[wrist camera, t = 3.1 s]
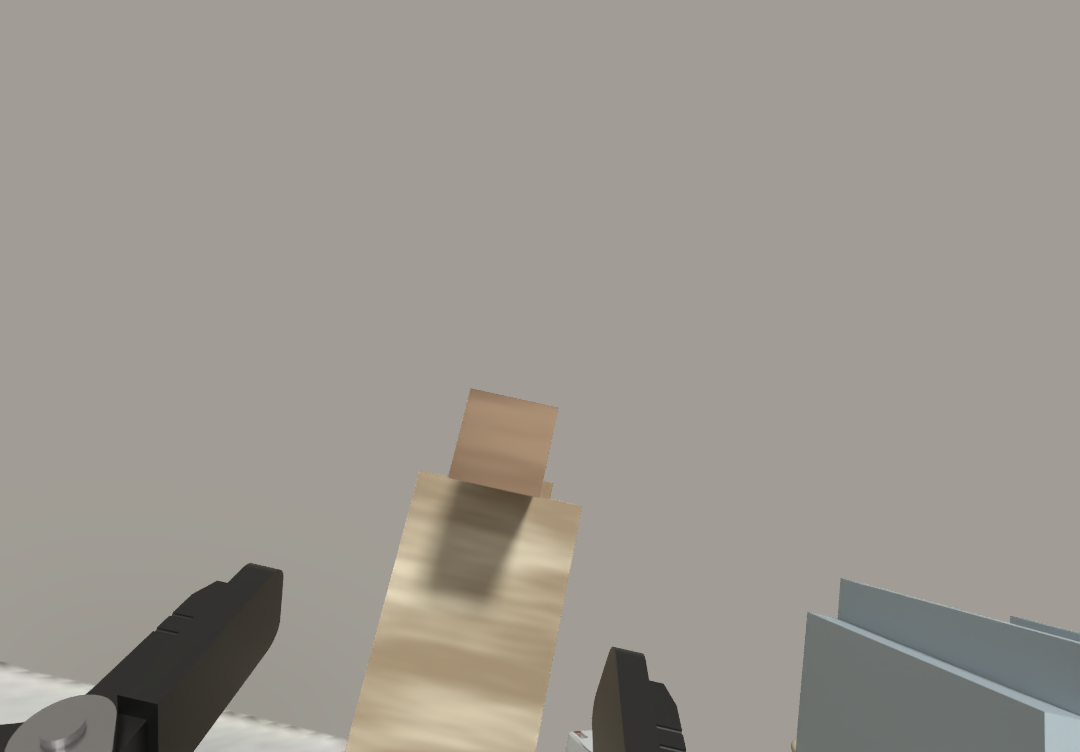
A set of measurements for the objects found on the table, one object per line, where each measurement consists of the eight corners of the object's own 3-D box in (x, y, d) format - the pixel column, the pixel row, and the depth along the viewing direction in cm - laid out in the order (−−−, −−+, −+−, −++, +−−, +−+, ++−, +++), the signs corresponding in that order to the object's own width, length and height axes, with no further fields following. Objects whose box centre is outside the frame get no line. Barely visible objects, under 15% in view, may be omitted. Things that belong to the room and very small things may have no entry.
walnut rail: (484, 484, 45) (495, 440, 46) (528, 493, 45) (538, 449, 46) (448, 477, 21) (470, 388, 22) (539, 498, 21) (558, 407, 22)
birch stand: (349, 891, 39) (461, 444, 47) (476, 920, 39) (566, 468, 46) (235, 1163, 23) (432, 422, 31) (447, 1212, 23) (591, 457, 31)
